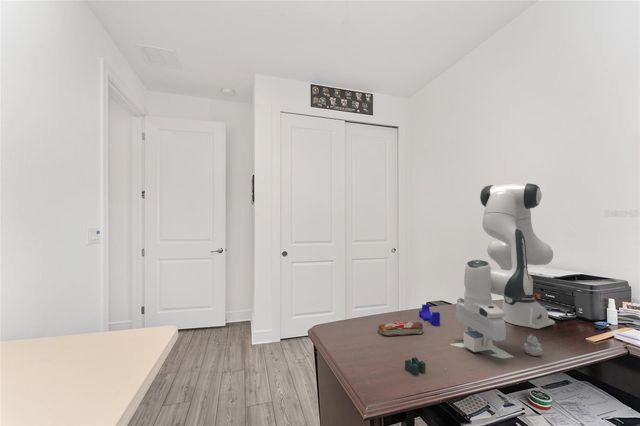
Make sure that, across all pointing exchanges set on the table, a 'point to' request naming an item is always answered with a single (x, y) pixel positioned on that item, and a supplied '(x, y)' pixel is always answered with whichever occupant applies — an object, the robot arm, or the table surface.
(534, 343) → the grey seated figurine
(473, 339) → the card deck
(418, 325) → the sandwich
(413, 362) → the mount
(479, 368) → the table surface
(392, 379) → the table surface
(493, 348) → the mat
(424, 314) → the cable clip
